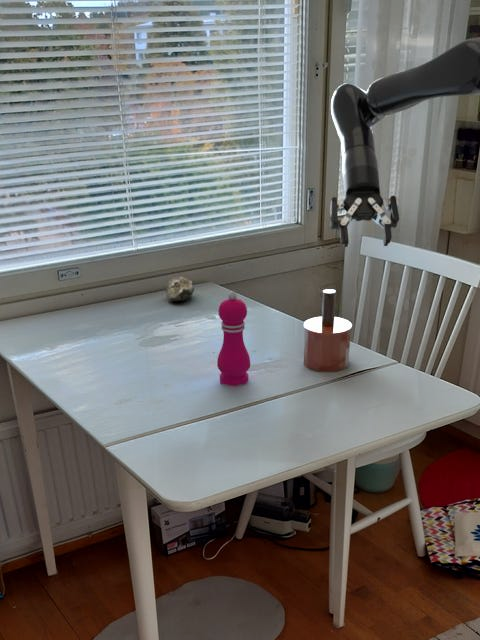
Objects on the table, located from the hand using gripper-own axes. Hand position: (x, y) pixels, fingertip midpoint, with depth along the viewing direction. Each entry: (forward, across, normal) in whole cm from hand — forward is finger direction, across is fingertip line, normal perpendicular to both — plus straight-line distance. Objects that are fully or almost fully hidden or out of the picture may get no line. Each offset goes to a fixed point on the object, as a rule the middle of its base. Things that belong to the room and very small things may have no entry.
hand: (366, 244), depth 164 cm
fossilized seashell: (-17, -41, +55) cm, 71 cm away
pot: (+18, -7, +20) cm, 28 cm away
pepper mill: (+24, -29, +14) cm, 40 cm away
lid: (+12, -7, +14) cm, 20 cm away
